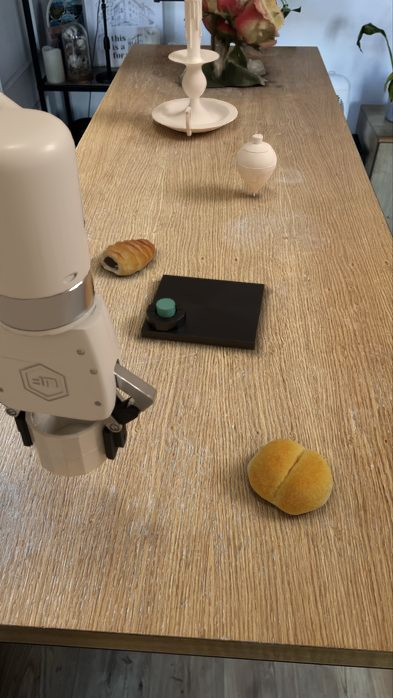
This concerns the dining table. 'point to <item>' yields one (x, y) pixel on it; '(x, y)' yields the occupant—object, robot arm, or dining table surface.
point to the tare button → (165, 307)
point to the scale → (207, 312)
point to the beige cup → (67, 443)
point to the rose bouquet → (238, 39)
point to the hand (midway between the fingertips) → (74, 440)
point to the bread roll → (290, 476)
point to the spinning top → (256, 162)
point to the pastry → (127, 256)
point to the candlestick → (194, 85)
